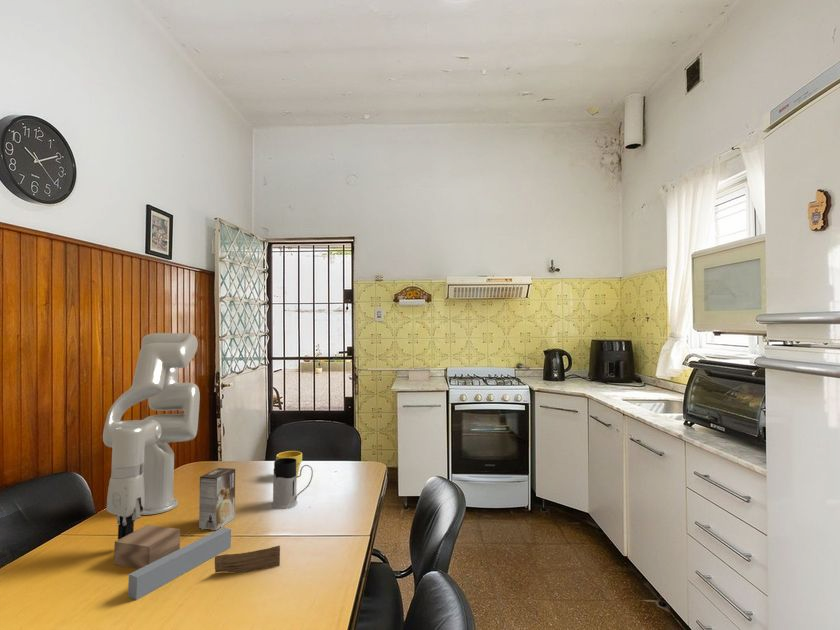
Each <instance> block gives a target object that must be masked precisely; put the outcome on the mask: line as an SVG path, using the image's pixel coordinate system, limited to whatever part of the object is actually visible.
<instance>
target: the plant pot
mask: <svg viewBox="0 0 840 630" xmlns="http://www.w3.org/2000/svg"><path fill="white" fill-rule="evenodd" d="M275 458H276V459H275V461H276V460H278V459H282V458H294V459H296V474H297V476H299V473H300V468H301V463H302V462H303V453H302V452H301V451H300V450H299V451H298V450H287V451H283V452H279V453H278V454H276V457H275Z"/></svg>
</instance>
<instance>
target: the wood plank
mask: <svg viewBox="0 0 840 630" xmlns="http://www.w3.org/2000/svg"><path fill="white" fill-rule="evenodd" d="M280 560H281V545H276V546H272V547H268V548H263V549H259V550H253V551H248V552H242V553H241V552H240V553H231V554H227V553H226V554H222V555H221V554H219V555H216V556H215V557H214V570H215V571H214V572H215V573H239V572H252V570H253V571H257V570H258V571H259V570H262V569H263V570H265V569H268V568H270V569H271V568H275V567H280V565H281V564H280V563H281V562H280Z"/></svg>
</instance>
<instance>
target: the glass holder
mask: <svg viewBox="0 0 840 630" xmlns="http://www.w3.org/2000/svg"><path fill="white" fill-rule="evenodd" d="M304 467H309V468H310V471H311V474H310V475H311V476H310V480H309V482H308V483H307V485H306V486H305V487H304V488H303V489H302V490H301V491H299V492H298V493H297V484H298V483H297V482H298V481H297V479H298V478H300V477H301V476H302V471H303V468H304ZM272 475H273V482H272V485H273V487H272V492H273V493H272V496H273V497H272V503H271V508H273V509H274V508H275V510H288V509H292V508H294V507H296V506H297V505H298V501H297V499H298V496H299V495H300V494H302V493H303V492H304V491H305V490H306V489H307V488H308V487H309V486H310V484H311V483H312V481H313V477H314V476H313V475H314V470H313V467H312V466H311V465H309V464H304V465H302V467H300V469H299V475H298V476H297V474H296V459H294V458H282V459H278V460H276V459H275V460H274V462H273V474H272ZM291 507H292V508H291ZM287 508H288V509H287Z"/></svg>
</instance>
